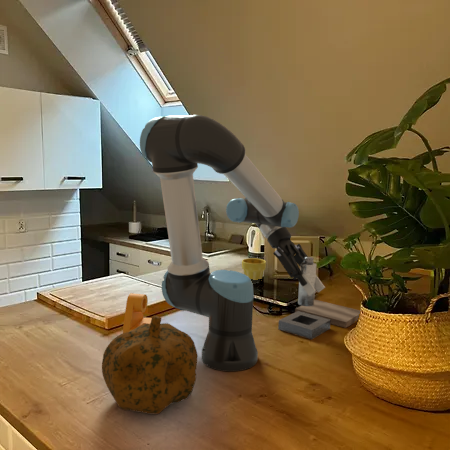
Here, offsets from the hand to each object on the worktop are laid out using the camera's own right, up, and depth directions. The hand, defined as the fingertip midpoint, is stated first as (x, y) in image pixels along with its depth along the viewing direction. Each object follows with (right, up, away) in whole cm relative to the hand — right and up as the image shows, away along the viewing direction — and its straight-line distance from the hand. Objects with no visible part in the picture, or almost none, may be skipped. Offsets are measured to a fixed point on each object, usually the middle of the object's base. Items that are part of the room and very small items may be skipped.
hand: (317, 291), depth 141 cm
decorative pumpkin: (-46, -18, -40) cm, 63 cm away
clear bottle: (-3, -4, +3) cm, 6 cm away
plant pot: (-17, -5, +56) cm, 59 cm away
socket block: (-3, -13, +4) cm, 14 cm away
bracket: (-55, -13, -1) cm, 56 cm away
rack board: (+8, -11, +17) cm, 22 cm away
